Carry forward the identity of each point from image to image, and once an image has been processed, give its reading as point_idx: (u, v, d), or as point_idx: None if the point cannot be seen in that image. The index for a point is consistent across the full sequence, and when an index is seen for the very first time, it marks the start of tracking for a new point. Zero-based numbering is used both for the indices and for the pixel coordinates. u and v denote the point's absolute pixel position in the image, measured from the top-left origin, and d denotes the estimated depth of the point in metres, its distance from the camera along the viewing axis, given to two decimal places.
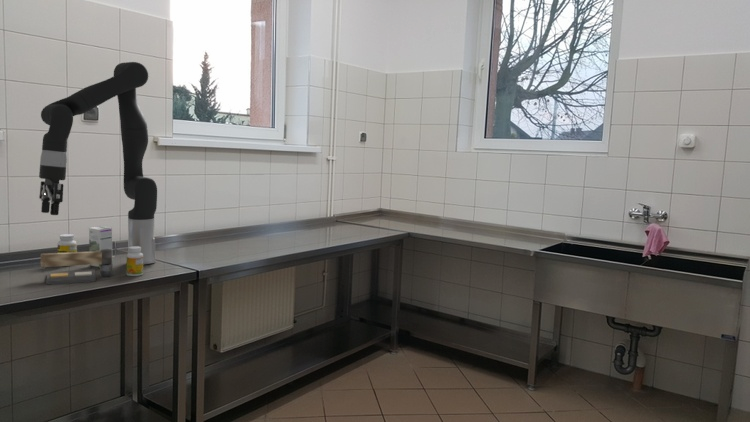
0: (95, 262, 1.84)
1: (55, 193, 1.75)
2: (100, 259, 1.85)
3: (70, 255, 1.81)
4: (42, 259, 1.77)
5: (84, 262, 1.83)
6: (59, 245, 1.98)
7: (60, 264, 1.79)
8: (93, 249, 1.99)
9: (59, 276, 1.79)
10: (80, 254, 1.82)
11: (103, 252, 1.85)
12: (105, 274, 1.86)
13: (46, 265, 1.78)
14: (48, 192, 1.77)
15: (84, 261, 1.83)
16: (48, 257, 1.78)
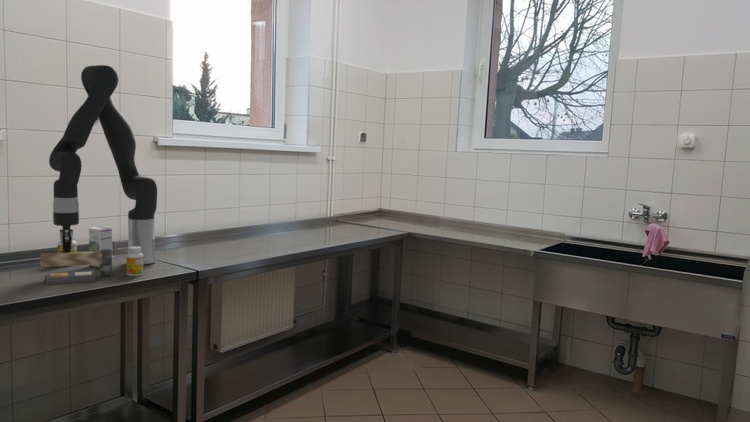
0: (95, 262, 1.84)
1: (63, 245, 1.80)
2: (100, 259, 1.85)
3: (70, 255, 1.80)
4: (42, 259, 1.77)
5: (84, 262, 1.83)
6: (59, 245, 1.98)
7: (60, 264, 1.79)
8: (93, 249, 1.99)
9: (59, 276, 1.79)
10: (80, 254, 1.82)
11: (103, 252, 1.85)
12: (105, 274, 1.86)
13: (46, 265, 1.77)
14: None
15: (84, 261, 1.83)
16: (48, 257, 1.77)
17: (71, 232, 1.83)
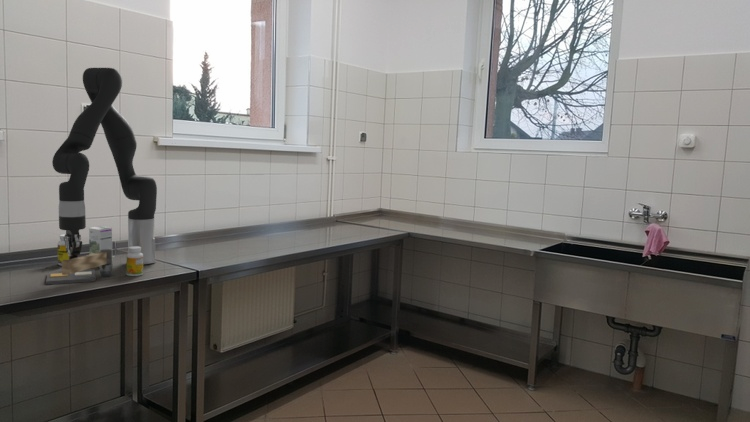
0: (102, 263, 1.84)
1: (73, 250, 1.73)
2: (105, 259, 1.85)
3: (86, 259, 1.76)
4: (67, 266, 1.68)
5: (95, 264, 1.80)
6: (59, 245, 1.98)
7: (80, 269, 1.74)
8: (93, 249, 1.99)
9: (59, 276, 1.79)
10: (93, 257, 1.79)
11: (108, 252, 1.85)
12: (105, 274, 1.86)
13: (70, 272, 1.70)
14: (68, 244, 1.74)
15: (95, 263, 1.80)
16: (72, 263, 1.70)
17: None
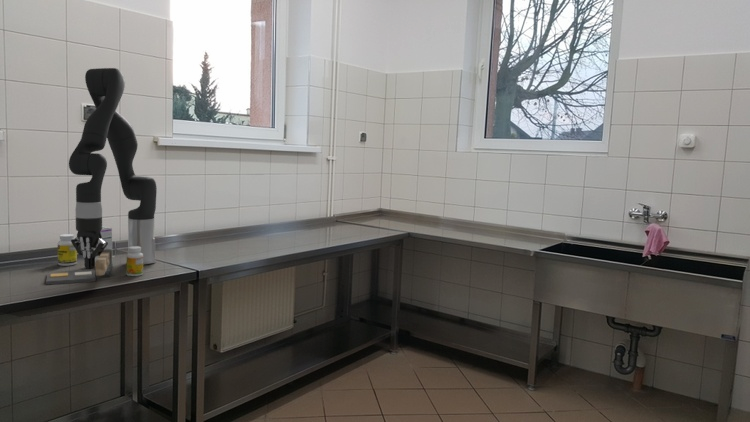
0: None
1: (98, 251, 1.73)
2: (109, 259, 1.86)
3: (106, 259, 1.77)
4: (102, 267, 1.70)
5: None
6: (59, 245, 1.98)
7: (105, 269, 1.75)
8: None
9: (59, 276, 1.79)
10: (107, 256, 1.80)
11: (110, 251, 1.86)
12: (105, 274, 1.86)
13: (104, 272, 1.71)
14: (88, 246, 1.73)
15: None
16: (104, 264, 1.71)
17: None
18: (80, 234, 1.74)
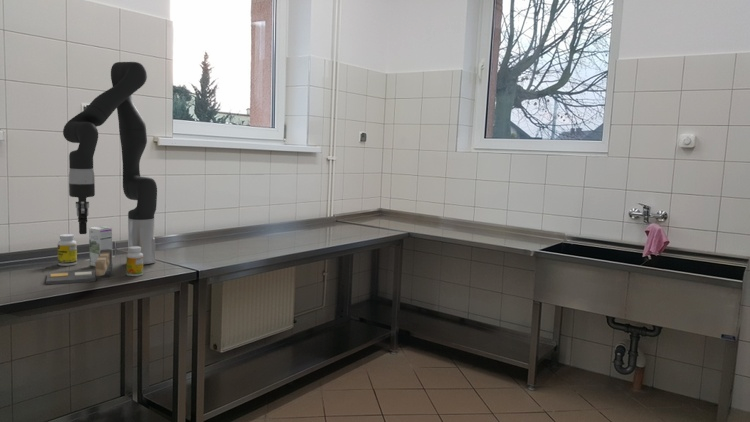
0: None
1: (79, 216, 1.78)
2: (109, 259, 1.86)
3: (106, 259, 1.77)
4: (103, 267, 1.70)
5: None
6: (59, 245, 1.98)
7: (105, 269, 1.75)
8: (93, 249, 1.99)
9: (59, 276, 1.79)
10: (107, 256, 1.80)
11: (110, 251, 1.86)
12: (105, 274, 1.86)
13: (104, 272, 1.71)
14: None
15: None
16: (104, 264, 1.71)
17: (87, 204, 1.80)
18: None
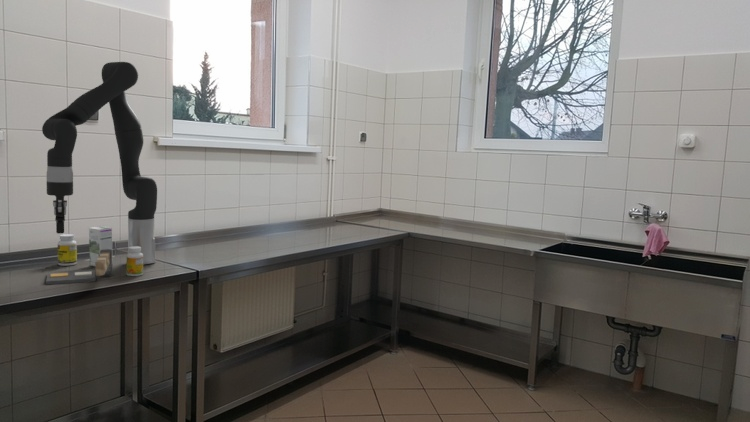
0: None
1: (56, 215, 1.74)
2: (109, 259, 1.86)
3: (106, 259, 1.77)
4: (103, 267, 1.70)
5: None
6: (59, 245, 1.98)
7: (105, 269, 1.75)
8: (93, 249, 1.99)
9: (59, 276, 1.79)
10: (107, 256, 1.80)
11: (110, 251, 1.86)
12: (105, 274, 1.86)
13: (104, 272, 1.71)
14: (54, 209, 1.76)
15: None
16: (104, 264, 1.71)
17: (65, 203, 1.77)
18: None
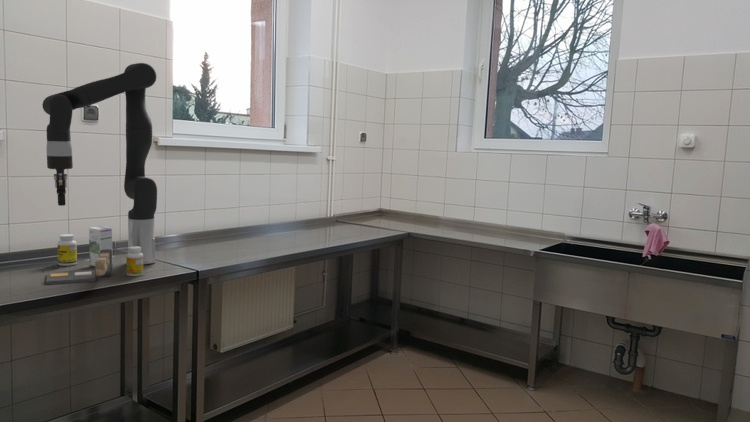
0: None
1: (57, 188, 1.82)
2: (109, 259, 1.86)
3: (106, 259, 1.77)
4: (103, 267, 1.70)
5: None
6: (59, 245, 1.98)
7: (105, 269, 1.75)
8: (93, 249, 1.99)
9: (59, 276, 1.79)
10: (107, 256, 1.80)
11: (110, 251, 1.86)
12: (105, 274, 1.86)
13: (104, 272, 1.71)
14: (55, 183, 1.84)
15: None
16: (104, 264, 1.71)
17: (65, 176, 1.85)
18: None
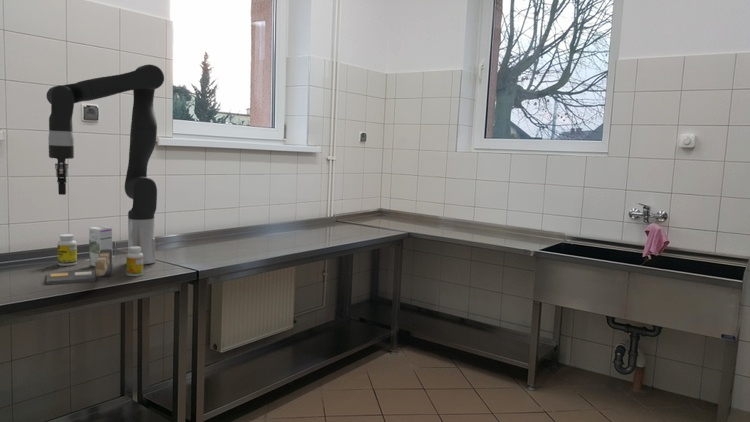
0: None
1: (58, 176, 1.85)
2: (109, 259, 1.86)
3: (106, 259, 1.77)
4: (103, 267, 1.70)
5: None
6: (59, 245, 1.98)
7: (105, 269, 1.75)
8: (93, 249, 1.99)
9: (59, 276, 1.79)
10: (107, 256, 1.80)
11: (110, 251, 1.86)
12: (105, 274, 1.86)
13: (104, 272, 1.71)
14: (56, 172, 1.87)
15: None
16: (104, 264, 1.71)
17: (66, 165, 1.88)
18: None
